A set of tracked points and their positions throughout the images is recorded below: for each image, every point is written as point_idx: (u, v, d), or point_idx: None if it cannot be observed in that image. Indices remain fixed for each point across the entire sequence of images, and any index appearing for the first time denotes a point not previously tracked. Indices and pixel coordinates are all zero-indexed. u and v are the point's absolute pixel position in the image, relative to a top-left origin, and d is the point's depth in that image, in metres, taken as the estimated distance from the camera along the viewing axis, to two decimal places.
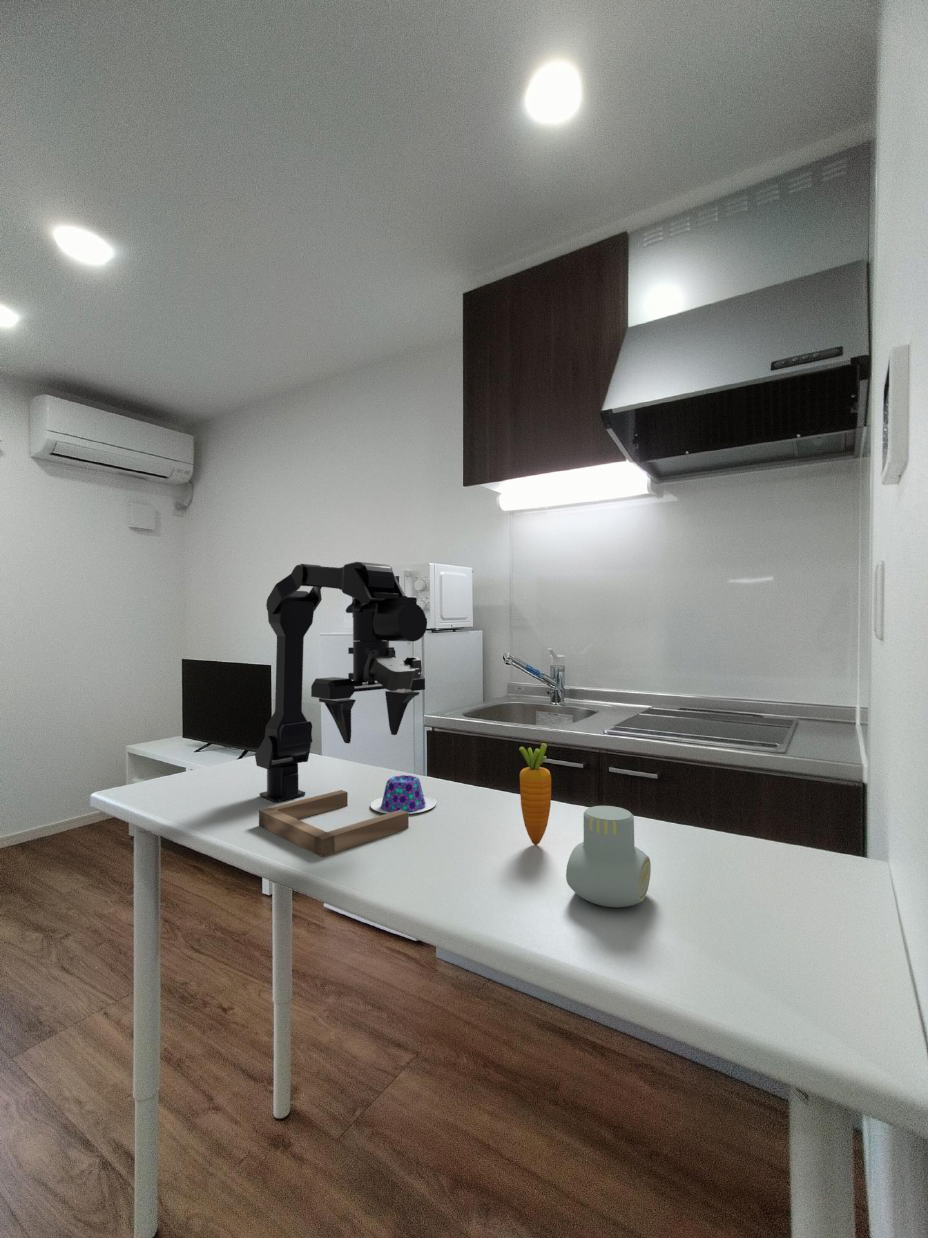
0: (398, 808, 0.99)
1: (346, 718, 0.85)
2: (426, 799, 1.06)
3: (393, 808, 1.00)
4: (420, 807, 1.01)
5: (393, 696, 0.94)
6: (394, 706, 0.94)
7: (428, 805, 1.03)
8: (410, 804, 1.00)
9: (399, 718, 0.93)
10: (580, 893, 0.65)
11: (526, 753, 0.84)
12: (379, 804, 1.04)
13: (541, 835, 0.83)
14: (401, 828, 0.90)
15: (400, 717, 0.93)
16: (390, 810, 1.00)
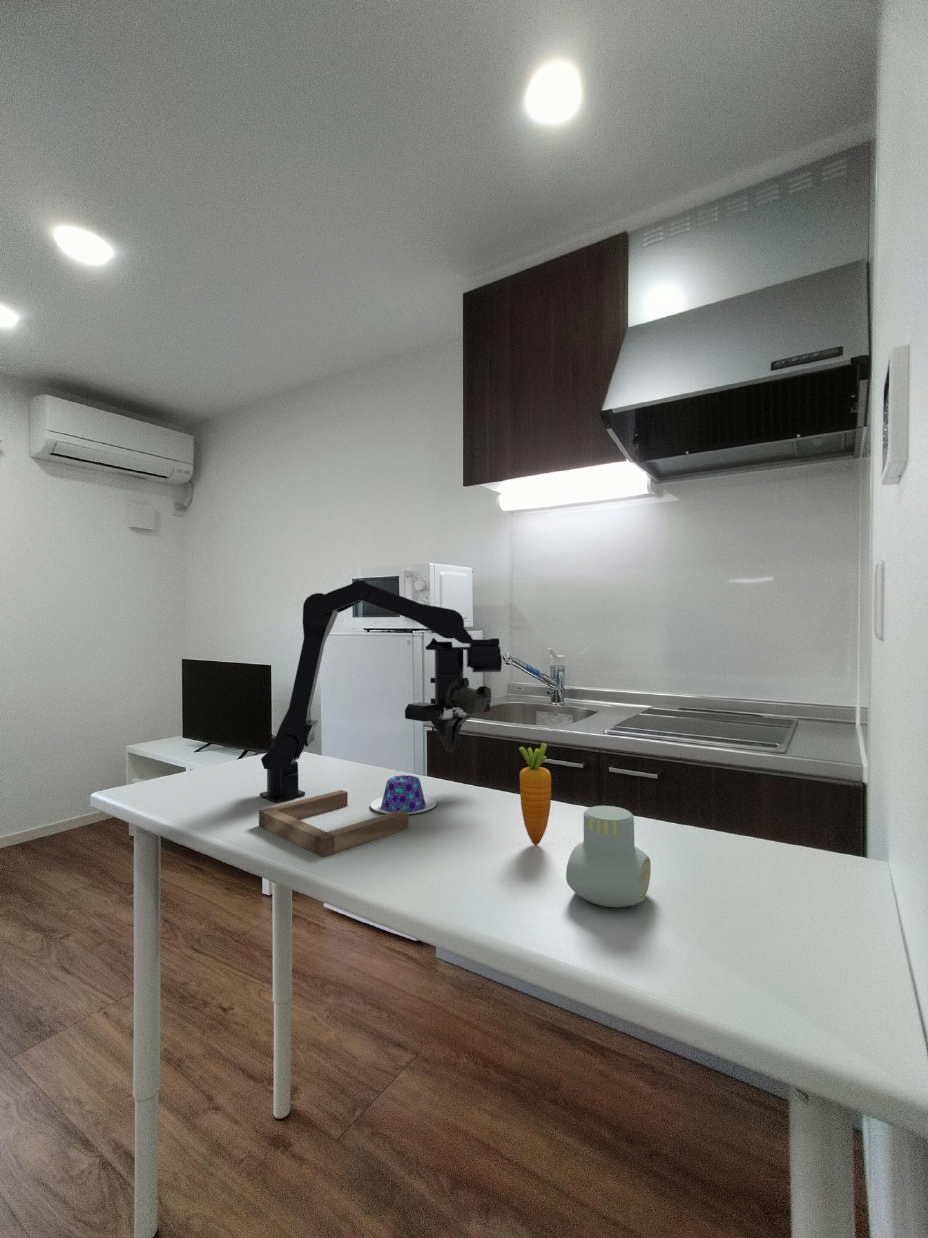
0: (398, 808, 0.99)
1: (449, 732, 1.10)
2: (426, 799, 1.06)
3: (393, 808, 1.00)
4: (420, 807, 1.01)
5: None
6: None
7: (428, 805, 1.03)
8: (410, 804, 1.00)
9: (455, 737, 1.11)
10: (580, 893, 0.65)
11: (526, 753, 0.84)
12: (379, 804, 1.04)
13: (541, 835, 0.83)
14: (401, 828, 0.90)
15: (455, 737, 1.12)
16: (390, 810, 1.00)
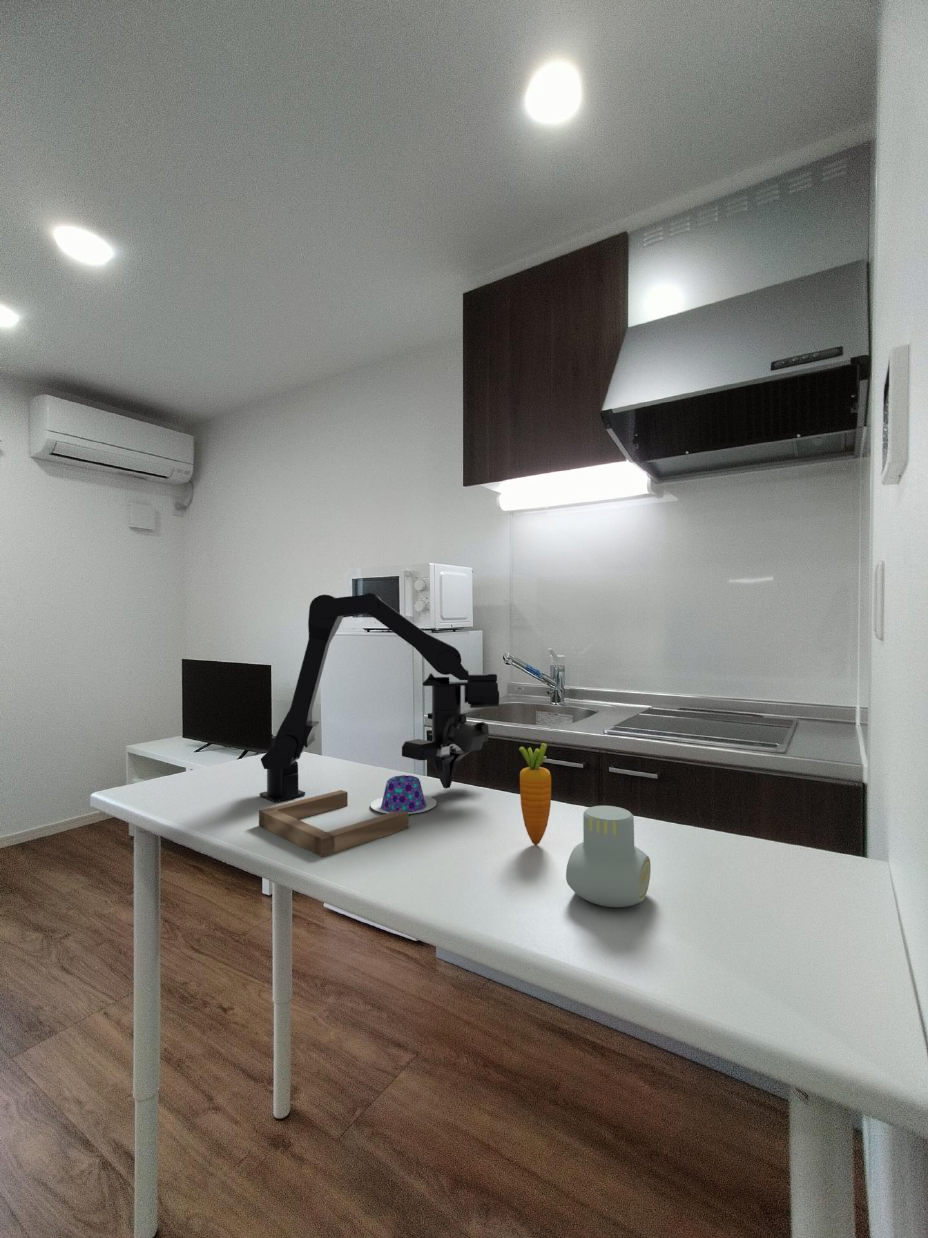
0: (397, 808, 0.99)
1: (446, 769, 1.09)
2: (427, 799, 1.06)
3: (392, 808, 1.00)
4: (420, 807, 1.01)
5: None
6: None
7: (428, 805, 1.03)
8: (410, 804, 0.99)
9: (452, 774, 1.11)
10: (580, 893, 0.65)
11: (526, 753, 0.84)
12: (379, 804, 1.04)
13: (541, 835, 0.83)
14: (401, 828, 0.90)
15: (453, 773, 1.11)
16: (390, 810, 1.00)
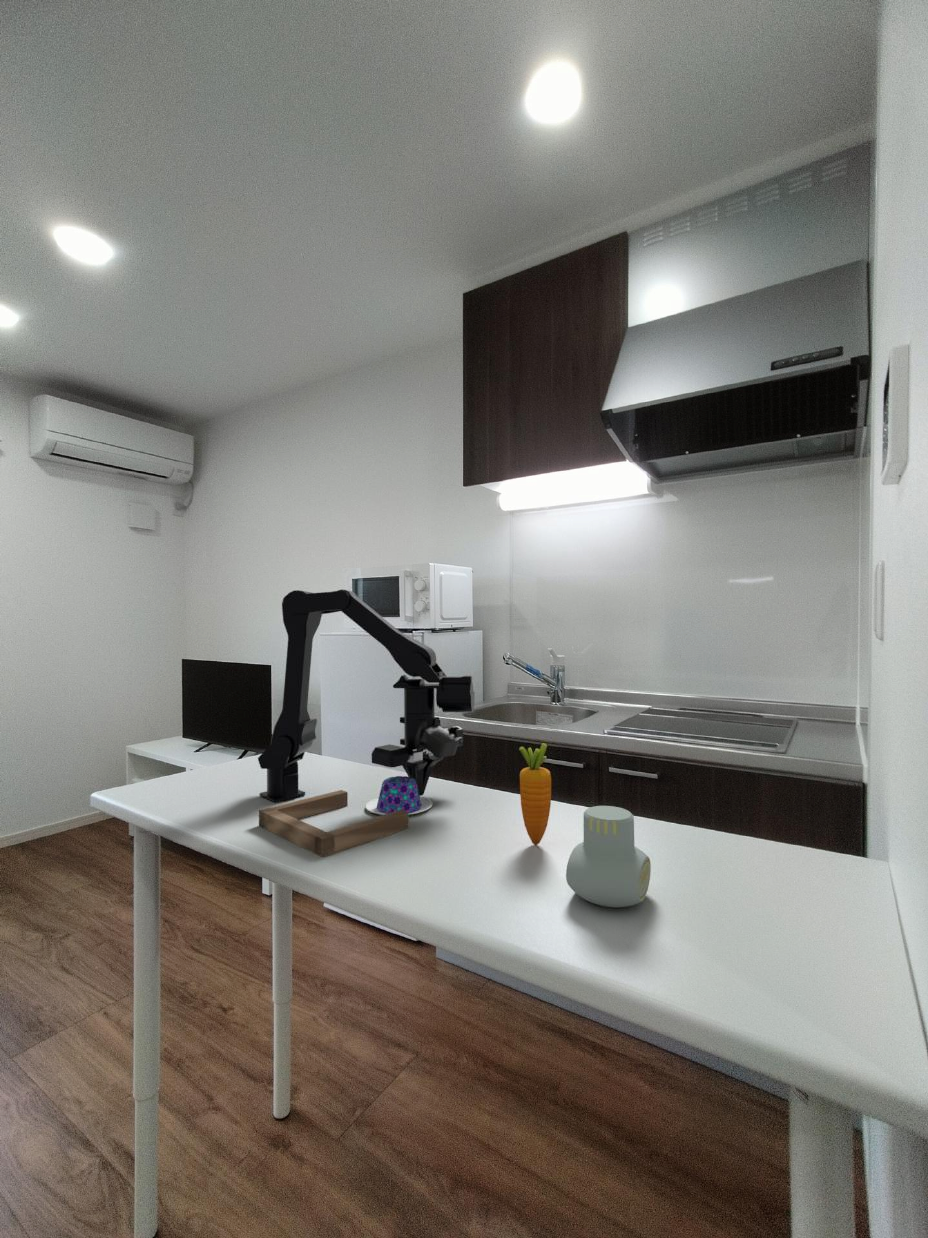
0: (392, 809, 0.98)
1: (419, 776, 1.04)
2: (423, 800, 1.05)
3: (387, 809, 0.99)
4: (415, 809, 1.00)
5: None
6: None
7: (424, 807, 1.02)
8: (405, 806, 0.98)
9: (425, 780, 1.06)
10: (580, 893, 0.65)
11: (526, 753, 0.84)
12: (375, 805, 1.03)
13: (541, 835, 0.83)
14: (401, 828, 0.90)
15: (426, 779, 1.06)
16: (385, 811, 0.99)
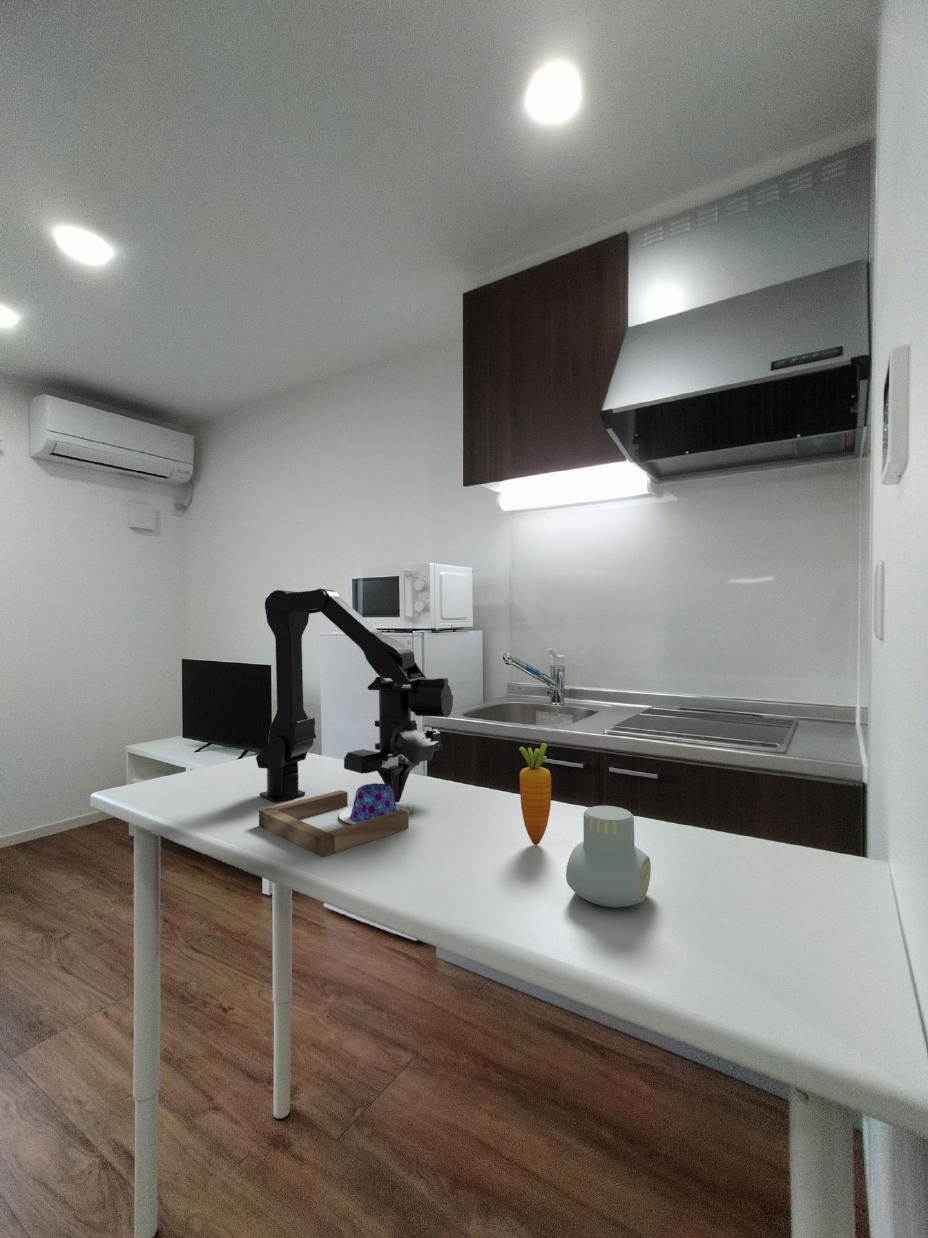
0: (366, 819, 0.94)
1: (395, 782, 1.00)
2: (400, 809, 1.00)
3: (361, 819, 0.94)
4: None
5: None
6: None
7: None
8: (379, 815, 0.94)
9: (401, 787, 1.01)
10: (580, 893, 0.65)
11: (526, 753, 0.84)
12: (349, 813, 0.98)
13: (541, 835, 0.83)
14: (401, 828, 0.90)
15: (402, 786, 1.01)
16: (358, 820, 0.94)
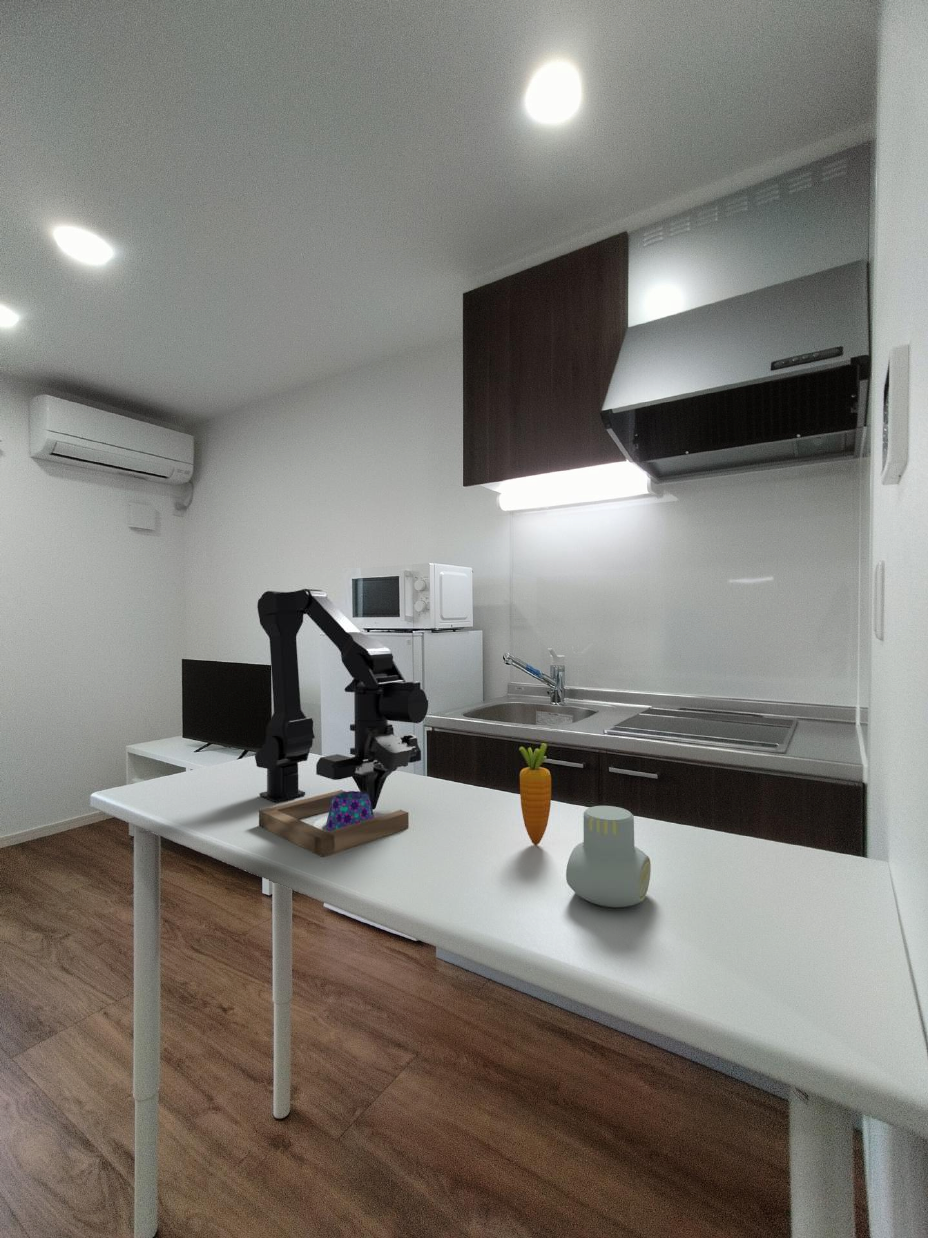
0: None
1: (370, 788, 0.96)
2: None
3: None
4: None
5: None
6: None
7: None
8: None
9: (377, 793, 0.97)
10: (580, 893, 0.65)
11: (526, 753, 0.84)
12: None
13: (541, 835, 0.83)
14: (401, 828, 0.90)
15: (378, 792, 0.98)
16: None
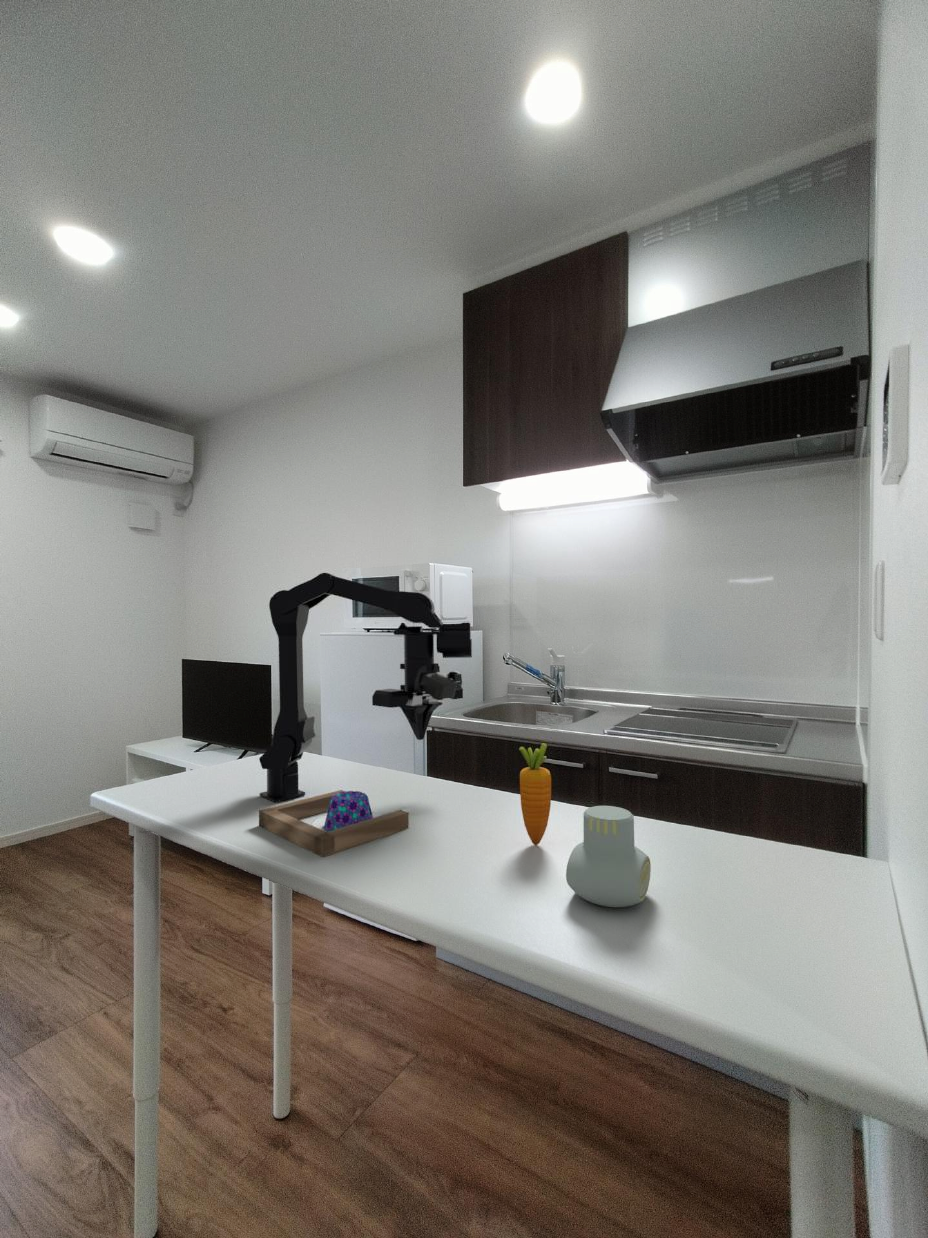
0: None
1: (419, 720, 1.07)
2: None
3: None
4: None
5: None
6: None
7: None
8: None
9: (425, 725, 1.08)
10: (580, 893, 0.65)
11: (526, 753, 0.84)
12: (323, 823, 0.94)
13: (541, 835, 0.83)
14: (401, 828, 0.90)
15: (426, 724, 1.08)
16: None
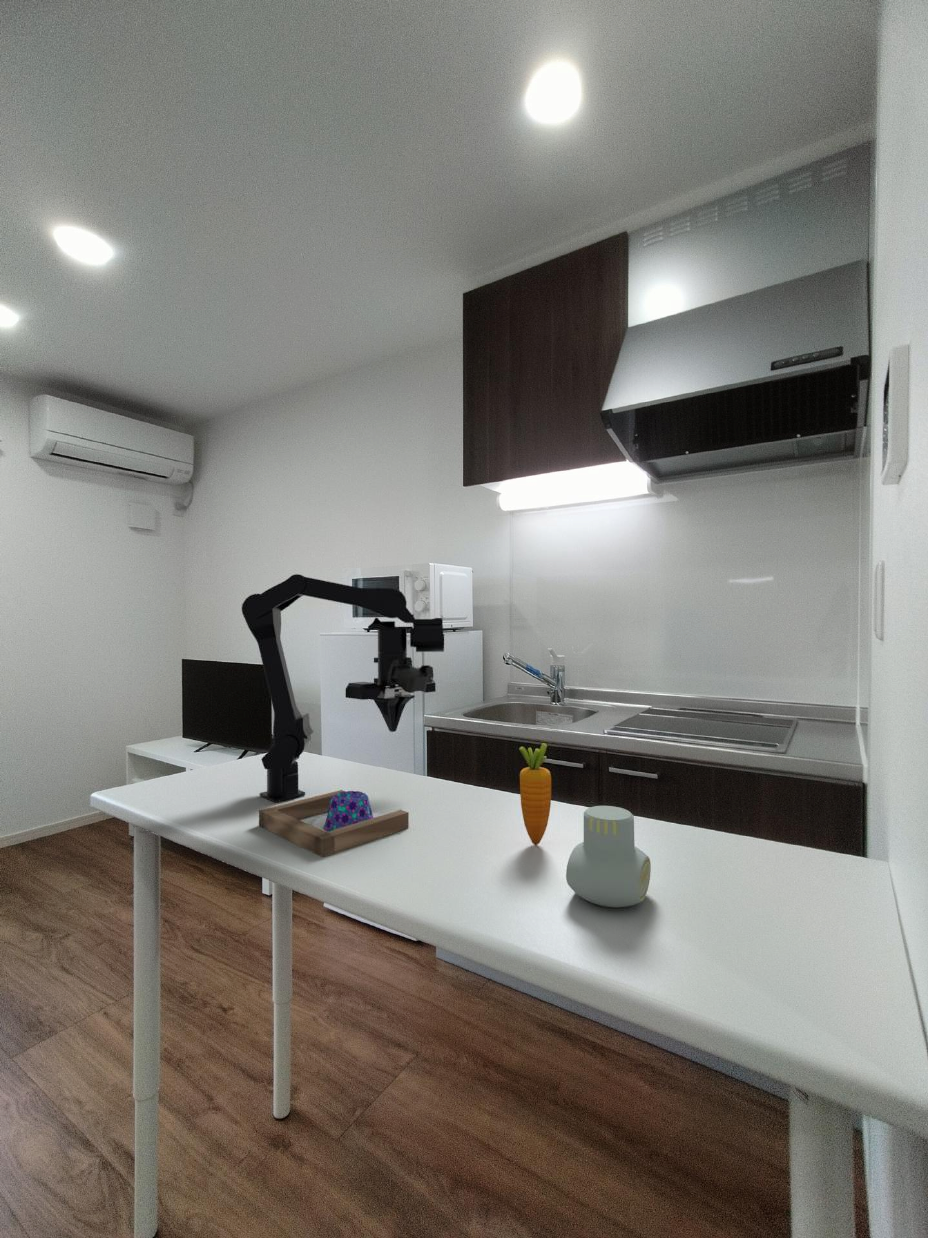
0: None
1: (391, 712, 1.10)
2: None
3: (334, 829, 0.90)
4: None
5: None
6: None
7: None
8: None
9: (398, 717, 1.11)
10: (580, 893, 0.65)
11: (526, 753, 0.84)
12: (323, 823, 0.94)
13: (541, 835, 0.83)
14: (401, 828, 0.90)
15: (398, 716, 1.11)
16: (331, 830, 0.90)
